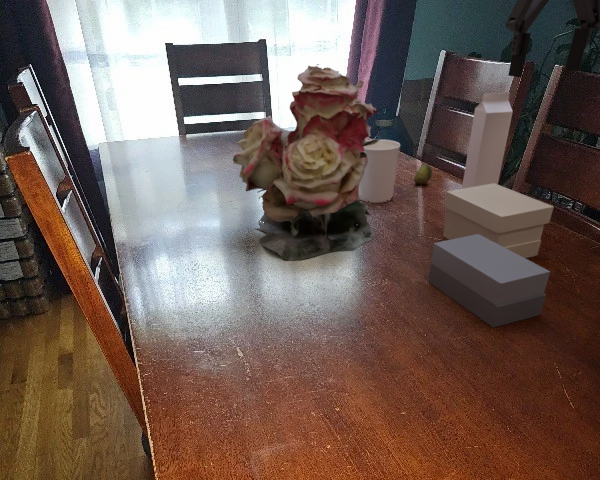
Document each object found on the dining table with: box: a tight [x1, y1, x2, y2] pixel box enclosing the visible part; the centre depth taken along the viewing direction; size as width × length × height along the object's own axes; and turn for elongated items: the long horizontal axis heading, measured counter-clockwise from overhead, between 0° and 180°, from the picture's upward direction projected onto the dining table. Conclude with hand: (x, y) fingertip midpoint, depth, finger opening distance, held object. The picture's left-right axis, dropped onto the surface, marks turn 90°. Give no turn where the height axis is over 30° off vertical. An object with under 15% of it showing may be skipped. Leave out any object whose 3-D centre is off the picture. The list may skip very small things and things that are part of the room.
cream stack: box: [442, 208, 545, 259], centre depth 98 cm, size 16×10×6 cm, turn 23°
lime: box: [413, 163, 433, 185], centre depth 131 cm, size 4×5×5 cm
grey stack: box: [428, 234, 551, 329], centre depth 81 cm, size 17×9×7 cm, turn 23°
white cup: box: [358, 139, 401, 204], centre depth 121 cm, size 10×10×12 cm
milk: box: [461, 91, 514, 189], centre depth 115 cm, size 6×6×22 cm
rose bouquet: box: [232, 63, 381, 261], centre depth 97 cm, size 26×29×30 cm
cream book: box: [443, 183, 554, 234], centre depth 96 cm, size 16×12×3 cm
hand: (543, 73), depth 96 cm, fingers open, 13 cm apart
